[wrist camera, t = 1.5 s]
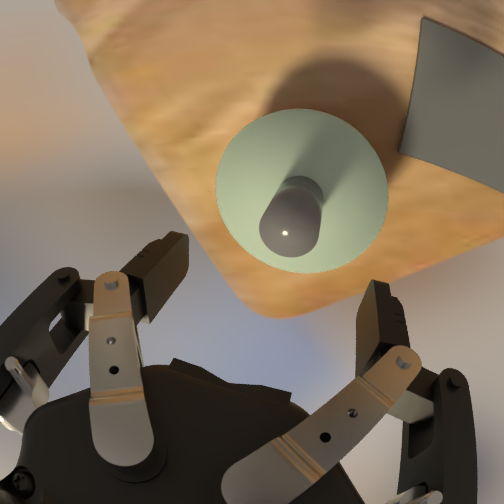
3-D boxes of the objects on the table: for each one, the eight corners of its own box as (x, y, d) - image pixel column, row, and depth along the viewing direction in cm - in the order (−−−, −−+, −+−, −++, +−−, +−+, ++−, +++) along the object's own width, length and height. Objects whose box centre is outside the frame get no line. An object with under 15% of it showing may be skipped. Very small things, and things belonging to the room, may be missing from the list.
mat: (421, 19, 15) (422, 18, 14) (532, 77, 13) (535, 77, 12) (398, 151, 21) (399, 152, 21) (506, 194, 19) (509, 195, 19)
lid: (228, 96, 18) (188, 101, 13) (404, 133, 16) (431, 150, 11) (216, 246, 25) (184, 289, 20) (359, 281, 23) (360, 334, 18)
